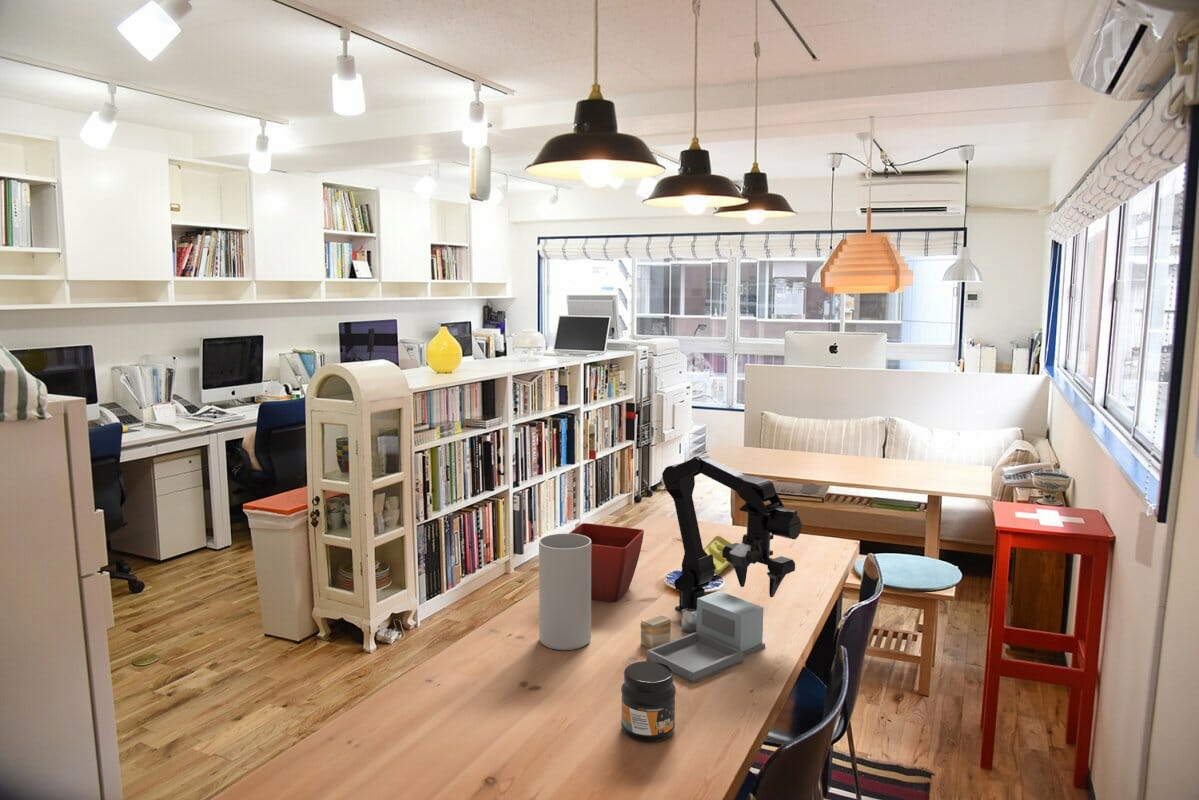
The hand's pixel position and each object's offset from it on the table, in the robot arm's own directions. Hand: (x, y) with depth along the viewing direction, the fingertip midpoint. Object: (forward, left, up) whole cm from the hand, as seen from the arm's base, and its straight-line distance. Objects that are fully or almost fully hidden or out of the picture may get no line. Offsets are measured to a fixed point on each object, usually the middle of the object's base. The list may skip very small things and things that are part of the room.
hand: (756, 591), depth 208 cm
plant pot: (-45, -12, -10) cm, 48 cm away
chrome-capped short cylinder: (-11, -12, -10) cm, 19 cm away
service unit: (0, -10, -10) cm, 14 cm away
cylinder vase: (-26, -40, -10) cm, 49 cm away
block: (-11, -24, -10) cm, 29 cm away
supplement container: (+17, -53, -10) cm, 57 cm away
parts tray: (+2, -24, -10) cm, 26 cm away
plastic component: (-40, +28, -11) cm, 50 cm away
